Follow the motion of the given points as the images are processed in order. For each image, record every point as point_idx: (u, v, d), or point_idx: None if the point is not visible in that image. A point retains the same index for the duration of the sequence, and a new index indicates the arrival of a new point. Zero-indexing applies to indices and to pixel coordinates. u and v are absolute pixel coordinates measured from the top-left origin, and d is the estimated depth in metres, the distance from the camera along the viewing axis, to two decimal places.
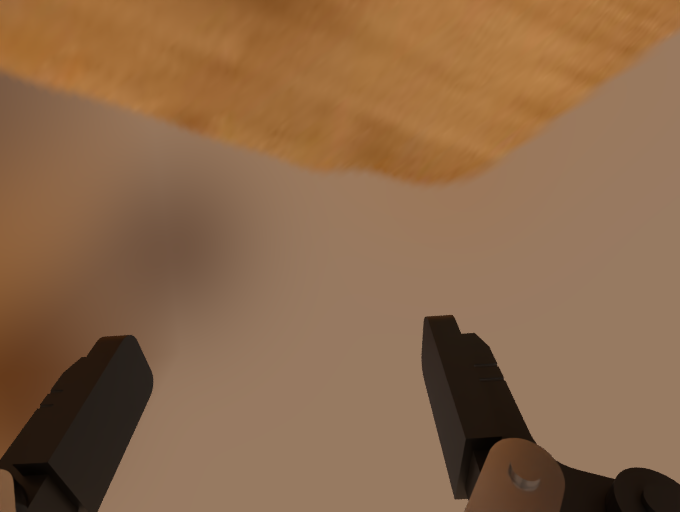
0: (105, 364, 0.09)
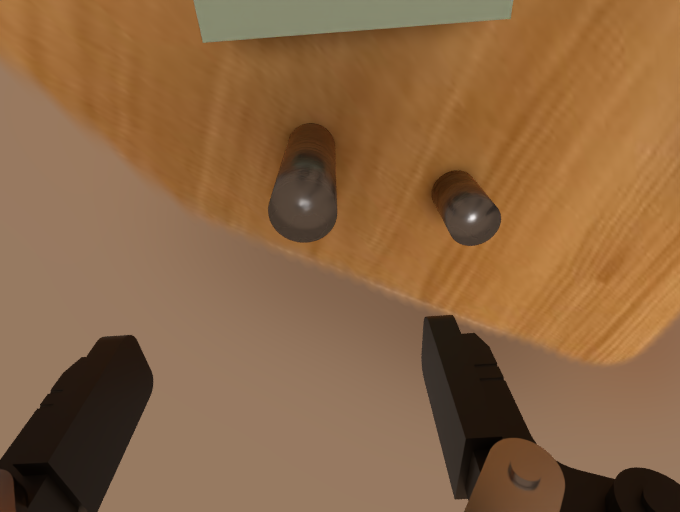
0: (105, 364, 0.09)
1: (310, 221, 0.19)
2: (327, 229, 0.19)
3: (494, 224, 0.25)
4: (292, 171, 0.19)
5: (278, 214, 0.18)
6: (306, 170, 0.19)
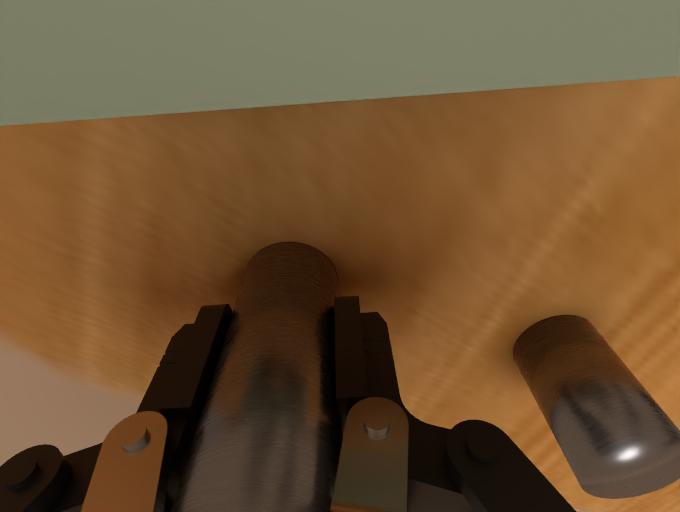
0: (215, 328, 0.10)
1: None
2: None
3: (677, 471, 0.12)
4: None
5: None
6: None
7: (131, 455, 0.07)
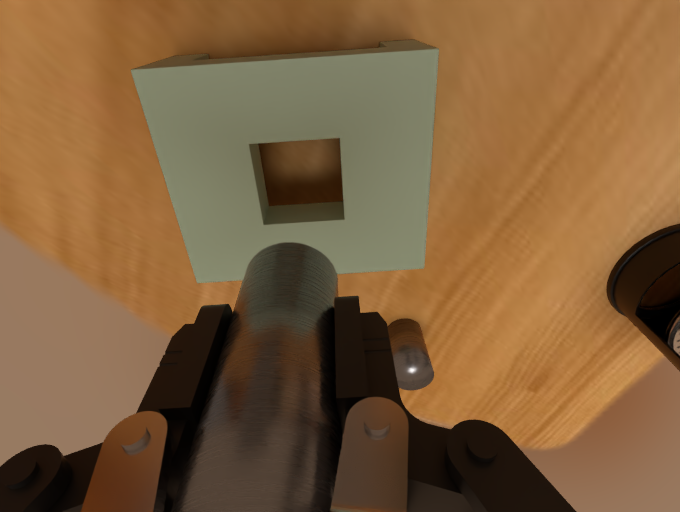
0: (215, 328, 0.10)
1: None
2: None
3: (429, 377, 0.31)
4: None
5: None
6: None
7: (131, 455, 0.07)
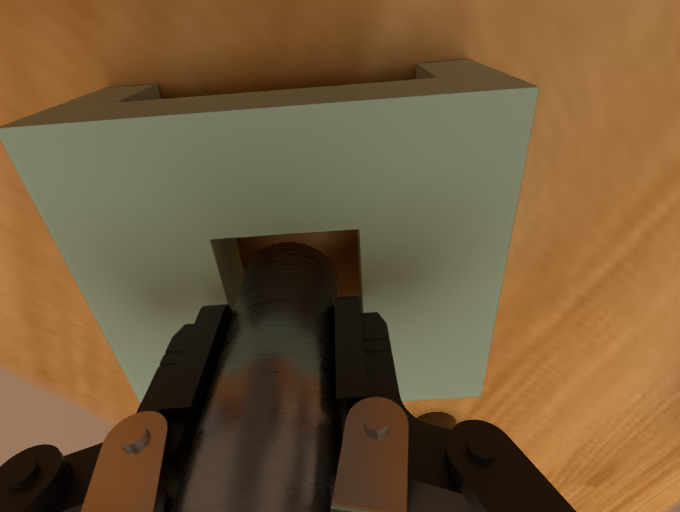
0: (215, 328, 0.10)
1: None
2: None
3: None
4: None
5: None
6: None
7: (131, 455, 0.07)
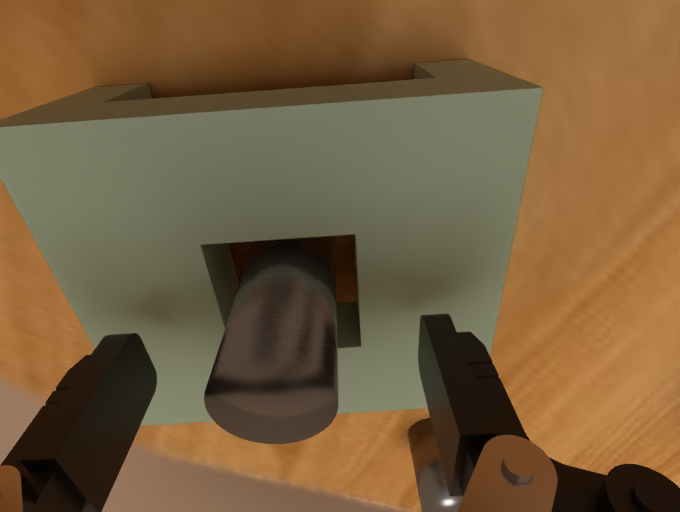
0: (110, 362, 0.10)
1: (288, 415, 0.10)
2: (319, 426, 0.10)
3: None
4: (252, 320, 0.10)
5: (225, 407, 0.10)
6: (280, 320, 0.10)
7: None
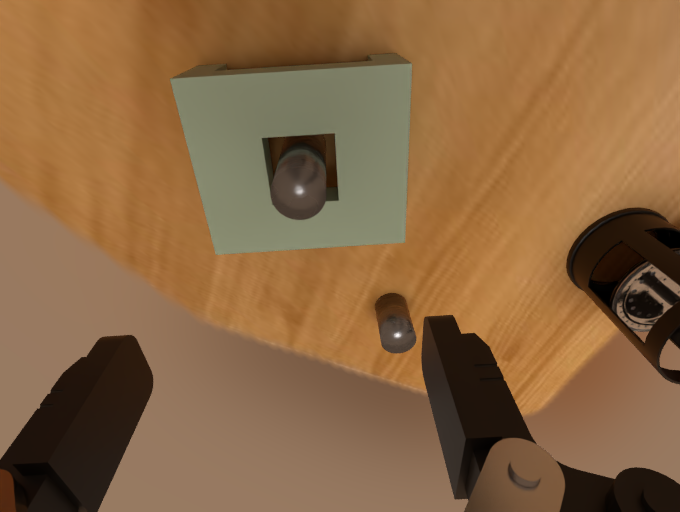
0: (105, 364, 0.09)
1: (305, 202, 0.23)
2: (318, 209, 0.23)
3: (412, 341, 0.36)
4: (289, 161, 0.23)
5: (279, 196, 0.23)
6: (301, 160, 0.23)
7: None
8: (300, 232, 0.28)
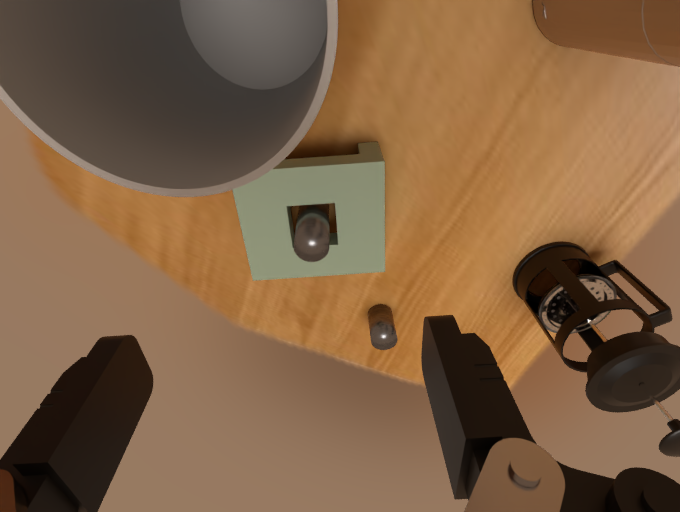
0: (105, 364, 0.09)
1: (315, 251, 0.35)
2: (324, 255, 0.36)
3: (394, 340, 0.48)
4: (305, 225, 0.35)
5: (299, 247, 0.35)
6: (313, 224, 0.35)
7: None
8: (311, 265, 0.41)
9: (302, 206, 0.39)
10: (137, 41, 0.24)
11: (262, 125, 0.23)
